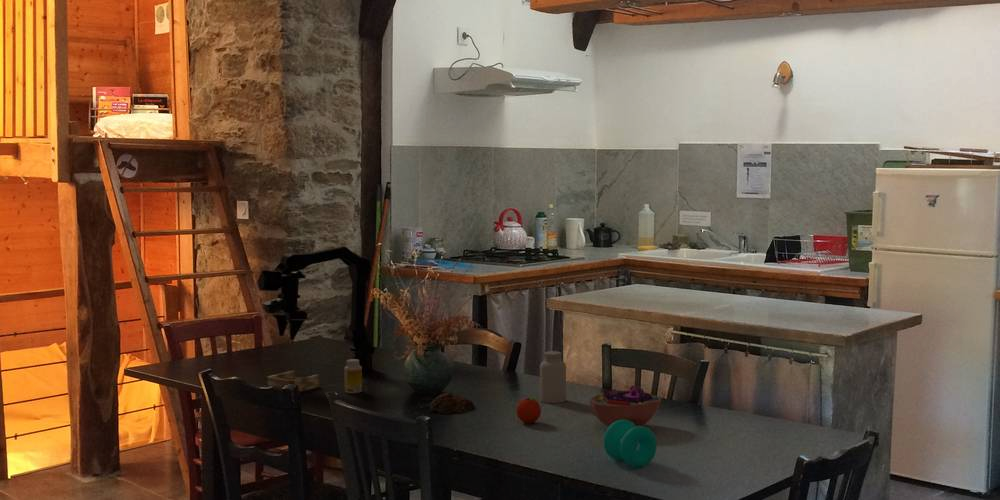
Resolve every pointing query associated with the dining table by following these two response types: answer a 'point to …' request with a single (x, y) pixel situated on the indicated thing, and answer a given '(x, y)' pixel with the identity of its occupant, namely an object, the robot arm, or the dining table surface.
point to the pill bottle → (552, 378)
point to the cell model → (625, 406)
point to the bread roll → (451, 404)
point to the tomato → (528, 410)
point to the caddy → (293, 380)
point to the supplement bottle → (353, 376)
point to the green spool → (630, 443)
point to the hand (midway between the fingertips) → (286, 337)
